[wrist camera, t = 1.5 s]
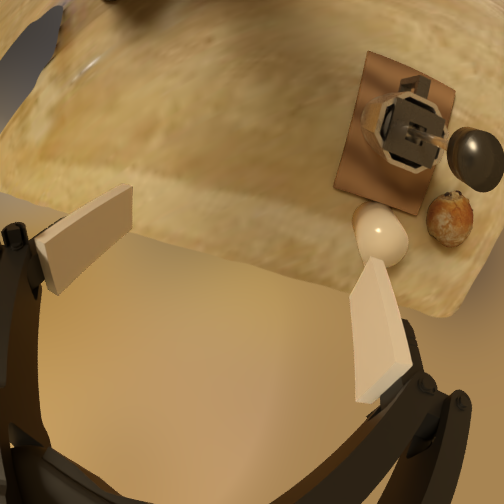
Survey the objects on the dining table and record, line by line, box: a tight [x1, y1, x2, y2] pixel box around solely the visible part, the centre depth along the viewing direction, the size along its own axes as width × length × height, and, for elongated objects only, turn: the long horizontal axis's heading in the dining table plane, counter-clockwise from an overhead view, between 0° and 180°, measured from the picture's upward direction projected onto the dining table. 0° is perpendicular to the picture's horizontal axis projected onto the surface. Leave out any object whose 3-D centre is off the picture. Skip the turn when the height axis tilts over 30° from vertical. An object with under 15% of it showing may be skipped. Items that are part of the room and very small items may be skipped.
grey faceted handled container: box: [360, 75, 449, 174], centre depth 29 cm, size 13×10×12 cm
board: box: [333, 51, 455, 216], centre depth 36 cm, size 24×16×1 cm, turn 170°
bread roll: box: [426, 191, 473, 247], centre depth 39 cm, size 10×10×8 cm
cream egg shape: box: [352, 200, 408, 268], centre depth 41 cm, size 9×8×9 cm
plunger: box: [383, 108, 504, 192], centre depth 20 cm, size 7×7×18 cm
